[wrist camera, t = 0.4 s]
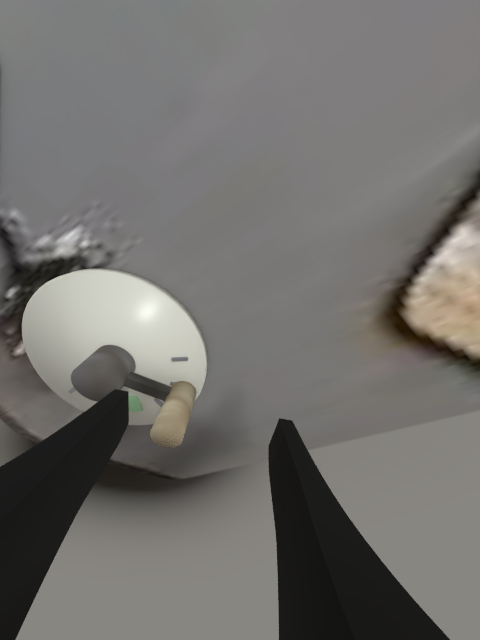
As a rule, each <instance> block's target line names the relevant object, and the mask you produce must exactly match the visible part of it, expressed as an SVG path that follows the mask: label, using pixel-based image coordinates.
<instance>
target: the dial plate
mask: <svg viewBox="0 0 480 640" xmlns="http://www.w3.org/2000/svg"><path fill="white" fill-rule="evenodd" d="M22 337H23V342H24V346H25V349H26V352H27V355H28V357H29V359H30V361H31V363H32V365H33V367H34V368H35V370H36V372H37V373H38V374H39V376H40V377H41V378H42V379H43V381H44V382H45V383H46V384H47V385H48V386H49V387H50V388H51V389H52V390H53V391H54V392H55V393H56V394H57V395H59V396H60V397H61V398H62V399H64V400H65V401H66V402H68V403H69V404H71V405H72V406H74V407H76V408H77V409H79V410H81V411H83V412H85V411H86V410H88V409H89V408H90V407H92V406H93V405H94V404H96V403H97V401H93V400H90V399H88V398H86V397H84V396H82V395H81V394H80V393H79V392H78V391H77V390H76V389H75V388H74V386H73V384H72V382H71V374H72V372H73V370H74V369H75V368H76V367H78V366H79V365H80V364H81V363H82V362H83V361H84V360H86V359H87V358H88V357H89V356H90V355H91V354H93V353H94V352H95V351H96V350H97V349H98V348H100V347H101V346H104V345H115V346H119V347H121V348H123V349H125V350H126V351H127V352H129V353H130V354H131V356H132V357H133V359H134V361H135V371H134V373H137V374H139V375H142V376H144V377H147V378H150V379H152V380H155V381H157V382H160V383H163V384H165V385H168V386H170V387H171V386H172V385H173V384H174V383H175V382H178V381H185V382H189V383H190V384H192V385H193V386H194V387H195V388H196V391H197V394H196V398H195V400H196V399H197V397H198V396H199V394H200V392H201V390H202V388H203V385H204V381H205V378H206V374H207V368H208V355H207V348H206V344H205V340H204V338H203V335H202V333H201V330H200V329H199V327H198V325H197V323H196V321H195V320H194V319H193V317H192V316H191V314H190V313H189V312H188V310H187V309H186V308H185V307H184V306H183V305H182V304H181V303H180V302H179V301H178V300H177V299H176V298H174V297H173V296H172V295H171V294H170V293H169V292H167V291H166V290H164V289H163V288H161V287H160V286H158V285H156V284H155V283H153V282H151V281H149V280H147V279H145V278H142V277H140V276H137V275H135V274H132V273H128V272H124V271H120V270H115V269H107V268H90V269H83V270H78V271H75V272H71V273H68V274H65V275H62V276H58V277H56V278H54V279H52V280H50V281H48V282H47V283H46V284H44V285H43V286H42V287H40V288H39V289H38V290H37V291H36V292H35V293H34V295H33V296H32V297H31V299H30V300H29V302H28V304H27V306H26V309H25V311H24V314H23V320H22ZM121 390H123V391H128V395H129V423H128V425H150V424H154V422H155V420H156V418H157V416H158V414H159V412H160V409H161V407H162V405H163V403H164V401H162V400H160V399H157V398H154V397H152V396H149V395H146V394H143V393H141V392H138V391H135V390H133V389H130V388H127V387H125V386H123V388H122V389H121ZM194 402H195V401H194Z"/></svg>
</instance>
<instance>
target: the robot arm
mask: <svg viewBox="0 0 480 640" xmlns="http://www.w3.org/2000/svg"><path fill="white" fill-rule="evenodd" d="M128 423H129V395H128V391H123V390H118V389H115V390H113V391H112V392H110V393H109V394H108V395H106V396H105V397H104V398H102V399H101V400H100V401H98V402H97V403H96V404H94V405H93V406H92V407H90V408H89V409H88V410H86V411H85V412H84V413H82V414H81V415H79V416H78V417H77V418H75V419H74V420H72V421H71V422H70V423H68V424H67V425H65V426H64V427H63V428H61V429H60V430H58V431H57V432H55V433H54V434H52V435H51V436H49V437H48V438H46V439H45V440H43V441H42V442H40V443H39V444H37V445H36V446H34V447H32V448H31V449H29V450H28V451H26V452H25V453H23V454H21V455H19V456H18V457H16V458H15V459H13V460H11V461H9V462H8V463H6V464H4V465H3V466H1V467H0V640H15V639H16V637H17V635H18V633H19V630H20V628H21V626H22V624H23V622H24V620H25V617H26V615H27V613H28V611H29V609H30V607H31V605H32V603H33V600H34V598H35V596H36V594H37V592H38V590H39V588H40V586H41V584H42V582H43V580H44V577H45V576H46V574H47V572H48V570H49V568H50V565H51V563H52V562H53V559H54V557H55V555H56V553H57V551H58V549H59V547H60V545H61V543H62V541H63V539H64V538H65V536H66V534H67V532H68V530H69V528H70V526H71V524H72V522H73V520H74V518H75V516H76V514H77V512H78V511H79V509H80V507H81V505H82V504H83V502H84V500H85V498H86V497H87V495H88V494H89V492H90V490H91V489H92V487H93V485H94V484H95V482H96V481H97V479H98V477H99V476H100V474H101V472H102V471H103V469H104V467H105V466H106V464H107V463H108V461H109V459H110V458H111V456H112V454H113V453H114V451H115V449H116V448H117V446H118V444H119V442H120V440H121V438H122V436H123V434H124V432H125V430H126V427H127V425H128ZM269 475H270V485H271V494H272V502H273V512H274V520H275V529H276V541H277V565H278V600H279V640H450V639H449V638H448V637H447V636H446V635H445V634H444V633H443V631H442V630H441V629H440V628H439V627H438V626H437V625H436V624H435V623H434V622H433V621H432V619H431V618H430V617H429V616H428V615H427V614H426V613H425V612H424V611H423V610H422V608H420V606H419V605H418V604H417V603H416V602H415V601H414V600H413V598H412V597H411V596H410V595H409V594H408V592H407V591H406V590H405V589H404V588H403V587H402V585H401V584H400V583H399V582H398V581H397V579H396V578H395V577H394V576H393V575H392V573H391V572H390V571H389V570H388V568H387V567H386V566H385V565H384V563H383V562H382V561H381V560H380V558H379V557H378V556H377V554H376V553H375V552H374V551H373V550H372V548H371V547H370V546H369V544H368V543H367V542H366V541H365V539H364V538H363V536H362V535H361V534H360V532H359V531H358V530H357V528H356V527H355V526H354V524H353V523H352V521H351V520H350V519H349V517H348V516H347V514H346V513H345V511H344V510H343V508H342V507H341V505H340V504H339V502H338V501H337V499H336V498H335V496H334V495H333V493H332V492H331V490H330V488H329V487H328V485H327V484H326V482H325V480H324V479H323V477H322V475H321V474H320V472H319V470H318V468H317V467H316V465H315V463H314V461H313V459H312V458H311V456H310V454H309V452H308V450H307V448H306V447H305V445H304V443H303V441H302V439H301V437H300V435H299V433H298V431H297V429H296V427H295V425H294V423H293V422H292V421H291V420H286V419H280V418H279V421H278V424H277V426H276V429H275V431H274V434H273V436H272V439H271V442H270V444H269Z"/></svg>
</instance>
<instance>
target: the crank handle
mask: <svg viewBox="0 0 480 640" xmlns="http://www.w3.org/2000/svg"><path fill="white" fill-rule="evenodd" d="M134 371H135V361H134V359H133V357H132V356H131V354H130V353H129V352H127V351H126V350H125V349H123V348H121V347H119V346H115V345H104V346H101V347H100V348H98V349H97V350H96V351H95V352H94V353H93V354H91V355H90V356H89V357H88V358H87V359H86V360H84V361H83V362H82V363H81V364H80V365H79V366H78V367H76V368H75V369H74V370H73V372H72V374H71V382H72V384H73V386H74V388H75V389H76V390H77V391H78V392H79V393H80V394H81V395H82V396H84V397H86V398H88V399H90V400H93V401H97V402H98V401H100V400H101V399H102V398H104V397H105V396H106V395H108V394H109V393H110V392H112V391H113V390H115V389H118V390H121V389H122V388H123V386H125V387H127V388H130V389H133V390H135V391H138V392H141V393H143V394H146V395H149V396H152V397H154V398H157V399H160V400H162V401H164V403H163V405H162V407H161V409H160V412H159V414H158V416H157V418H156V420H155V422H154V424H153V427H152V429H151V431H150V438H151V439H152V441H153V442H154V443H156V444H157V445H159V446H161V447H165V448H173V447H177V446H179V445H180V444H181V443H182V441H183V438H184V434H185V431H186V428H187V424H188V421H189V418H190V414H191V411H192V408H193V404H194V401H195V398H196V394H197V391H196V388H195V387H194V386H193V385H192V384H190V383H189V382H185V381H178V382H175V383H174V384H173V385H172V386H171V387H170V386H168V385H165V384H163V383H160V382H157V381H155V380H152V379H150V378H147V377H144V376H142V375H139V374H137V373H134Z"/></svg>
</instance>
